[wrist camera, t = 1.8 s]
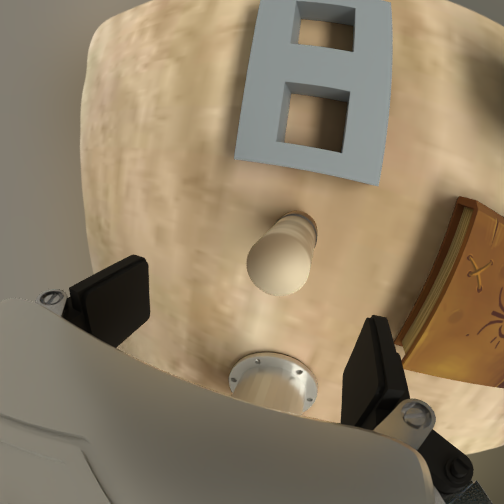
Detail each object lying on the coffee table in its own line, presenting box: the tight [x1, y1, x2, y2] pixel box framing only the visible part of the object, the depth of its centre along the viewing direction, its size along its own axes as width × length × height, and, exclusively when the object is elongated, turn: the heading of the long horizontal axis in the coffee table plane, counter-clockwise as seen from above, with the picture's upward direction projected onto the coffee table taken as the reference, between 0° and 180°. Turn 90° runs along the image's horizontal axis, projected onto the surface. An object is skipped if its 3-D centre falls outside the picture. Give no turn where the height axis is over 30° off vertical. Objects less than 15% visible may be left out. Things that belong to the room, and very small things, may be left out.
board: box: [234, 0, 392, 186], centre depth 21 cm, size 20×13×4 cm, turn 172°
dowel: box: [247, 211, 317, 296], centre depth 22 cm, size 4×4×12 cm
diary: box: [394, 196, 504, 388], centre depth 21 cm, size 23×19×6 cm
